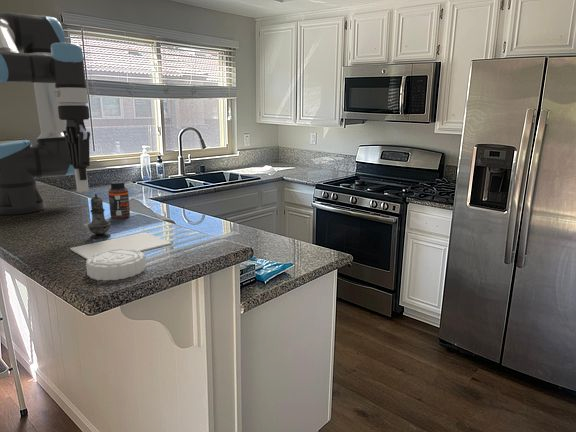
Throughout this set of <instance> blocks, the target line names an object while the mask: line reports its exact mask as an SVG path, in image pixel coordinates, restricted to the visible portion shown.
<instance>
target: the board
mask: <svg viewBox="0 0 576 432" xmlns="http://www.w3.org/2000/svg"><path fill="white" fill-rule="evenodd" d="M170 245H172V242H170V241H168V240H165V239H162V238H160V237H158V236H156V235H152V234H151V233H148V232H145V231H144V232H140V233H135V234H131V235H126V236H121V237H117V238H111V239H107V240H102V241H98V242H93V243H87V244H82V245H79V246H73V247H70V248H69V249H70V251H72V252H74V253H75V254H76V255H78V256H81V257H82V258H83V259H85V260H88V258H89V257H91V256H93V255H95V254H96V253H101V252H105V251H108V250H112V249H135V250H136V251H140V252H142V253H143V252H145V251H149V250H153V249H157V248H161V247H162V248H163V247H165V246H170Z"/></svg>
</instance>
